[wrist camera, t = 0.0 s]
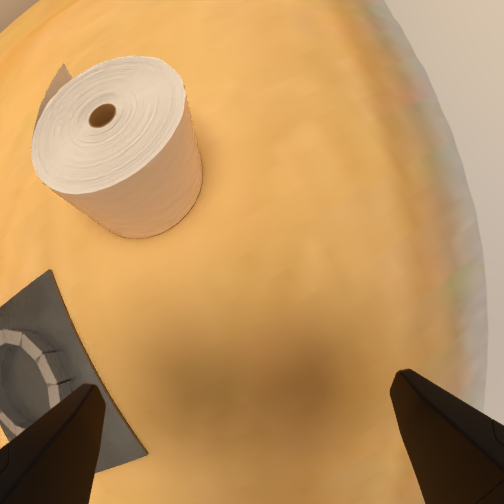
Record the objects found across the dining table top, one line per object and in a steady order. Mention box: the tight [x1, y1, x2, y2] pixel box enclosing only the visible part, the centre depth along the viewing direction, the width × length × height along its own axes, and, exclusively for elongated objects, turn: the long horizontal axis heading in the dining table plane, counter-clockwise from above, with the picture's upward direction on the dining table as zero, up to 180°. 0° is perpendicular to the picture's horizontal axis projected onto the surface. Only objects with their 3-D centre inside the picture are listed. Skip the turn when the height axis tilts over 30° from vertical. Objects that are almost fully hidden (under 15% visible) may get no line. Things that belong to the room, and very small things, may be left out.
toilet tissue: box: [31, 56, 203, 239], centre depth 20 cm, size 11×12×10 cm
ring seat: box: [0, 270, 148, 473], centre depth 19 cm, size 18×16×2 cm
